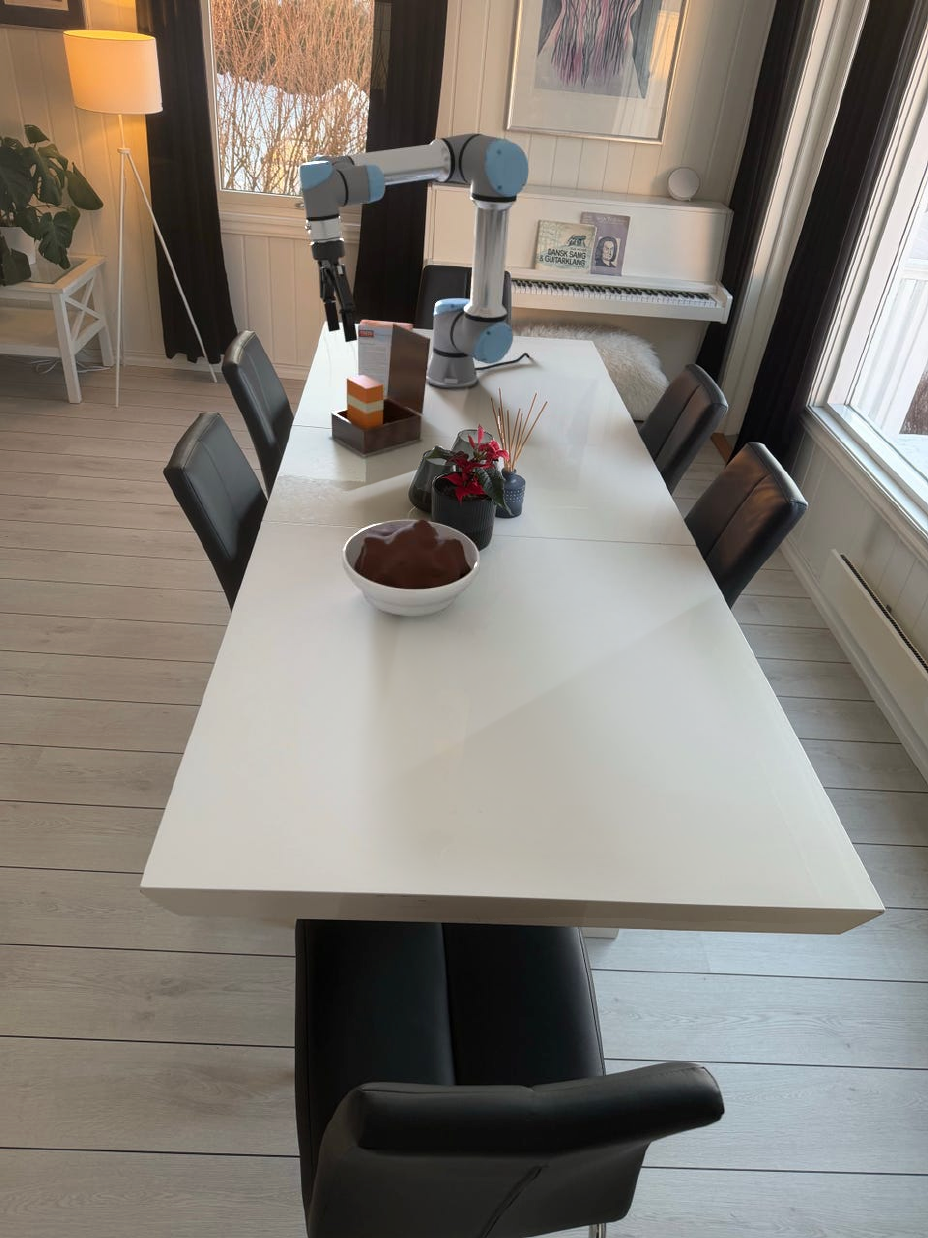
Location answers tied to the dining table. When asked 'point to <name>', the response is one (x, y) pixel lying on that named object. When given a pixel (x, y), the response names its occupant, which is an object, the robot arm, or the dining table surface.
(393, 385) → the lid
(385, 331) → the cracker box
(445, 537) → the bowl of chocolate pudding
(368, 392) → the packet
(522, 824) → the dining table surface
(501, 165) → the robot arm
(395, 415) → the storage box
